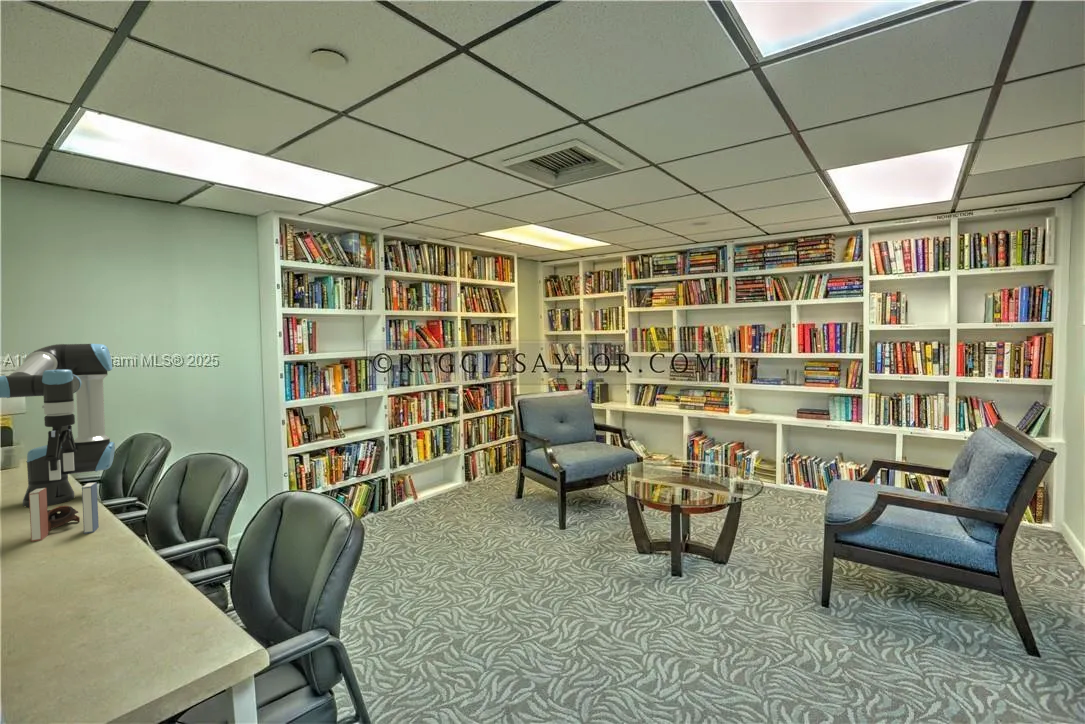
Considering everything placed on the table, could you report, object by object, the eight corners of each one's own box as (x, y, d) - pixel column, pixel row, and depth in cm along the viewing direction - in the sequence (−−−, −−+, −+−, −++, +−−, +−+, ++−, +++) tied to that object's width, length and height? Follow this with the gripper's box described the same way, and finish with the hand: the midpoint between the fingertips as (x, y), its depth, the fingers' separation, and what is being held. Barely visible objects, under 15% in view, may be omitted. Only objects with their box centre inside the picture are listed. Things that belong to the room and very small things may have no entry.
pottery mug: (90, 521, 183) (83, 505, 178) (65, 542, 174) (57, 525, 170) (59, 514, 183) (51, 498, 179) (32, 534, 175) (24, 518, 171)
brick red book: (38, 535, 169) (36, 488, 169) (48, 534, 170) (46, 487, 170) (31, 541, 164) (28, 493, 163) (41, 540, 165) (39, 491, 164)
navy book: (89, 528, 175) (87, 483, 175) (98, 527, 177) (96, 481, 176) (83, 534, 170) (81, 487, 170) (93, 532, 171) (91, 486, 171)
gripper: (57, 410, 181) (60, 468, 182) (29, 419, 160) (33, 485, 160) (85, 409, 185) (87, 466, 186) (61, 417, 163) (64, 482, 164)
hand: (62, 475), depth 173 cm, fingers open, 13 cm apart
